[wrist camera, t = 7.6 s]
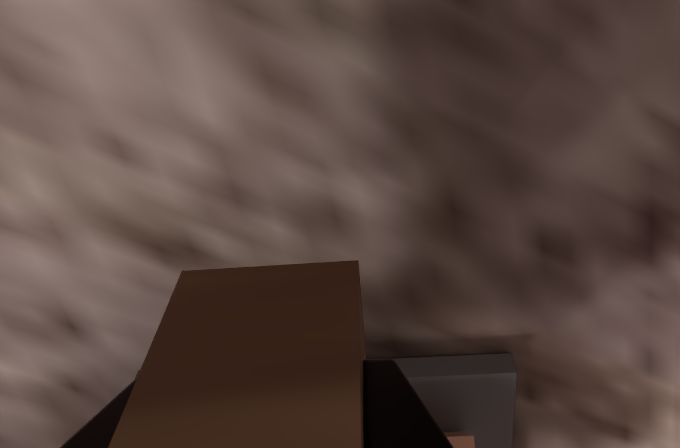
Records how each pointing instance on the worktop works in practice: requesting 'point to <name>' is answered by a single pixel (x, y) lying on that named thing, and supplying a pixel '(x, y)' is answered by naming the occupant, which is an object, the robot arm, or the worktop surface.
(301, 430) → the walnut turner
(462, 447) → the glazed tile
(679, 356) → the worktop surface
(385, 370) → the robot arm
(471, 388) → the slate mat
